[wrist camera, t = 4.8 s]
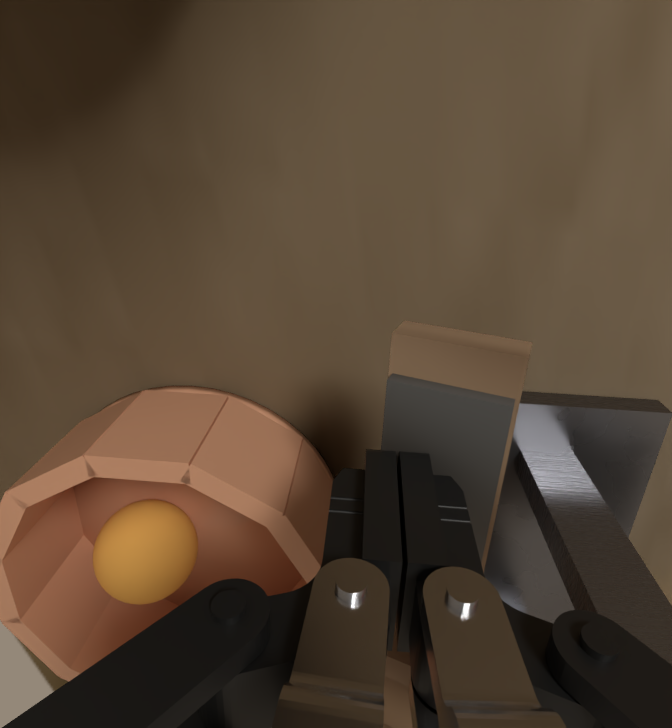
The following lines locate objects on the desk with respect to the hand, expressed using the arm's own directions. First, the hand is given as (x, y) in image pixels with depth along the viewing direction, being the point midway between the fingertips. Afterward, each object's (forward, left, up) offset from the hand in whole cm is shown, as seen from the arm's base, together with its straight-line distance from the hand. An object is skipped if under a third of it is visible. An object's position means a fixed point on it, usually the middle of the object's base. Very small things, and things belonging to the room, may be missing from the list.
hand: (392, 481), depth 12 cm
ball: (+8, -9, -5) cm, 13 cm away
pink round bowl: (+8, -8, -7) cm, 13 cm away
